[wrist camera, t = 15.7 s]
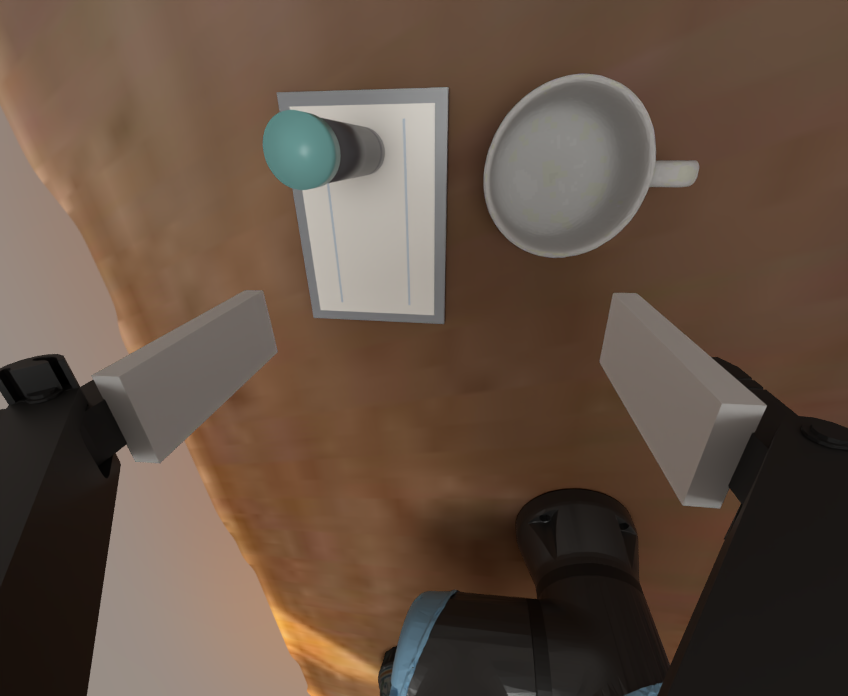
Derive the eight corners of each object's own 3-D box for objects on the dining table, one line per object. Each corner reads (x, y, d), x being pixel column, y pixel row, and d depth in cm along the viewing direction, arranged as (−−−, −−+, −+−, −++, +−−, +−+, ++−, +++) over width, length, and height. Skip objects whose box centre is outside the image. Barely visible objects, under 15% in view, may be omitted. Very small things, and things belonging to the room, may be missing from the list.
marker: (387, 176, 32) (335, 190, 21) (344, 176, 32) (270, 190, 21) (384, 124, 30) (325, 108, 19) (339, 125, 31) (255, 110, 19)
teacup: (470, 221, 34) (467, 241, 27) (503, 77, 29) (510, 55, 22) (622, 253, 33) (659, 281, 26) (684, 112, 28) (751, 102, 21)
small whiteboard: (444, 320, 39) (443, 324, 38) (316, 314, 41) (312, 318, 40) (449, 88, 29) (447, 87, 28) (281, 93, 31) (275, 92, 30)
